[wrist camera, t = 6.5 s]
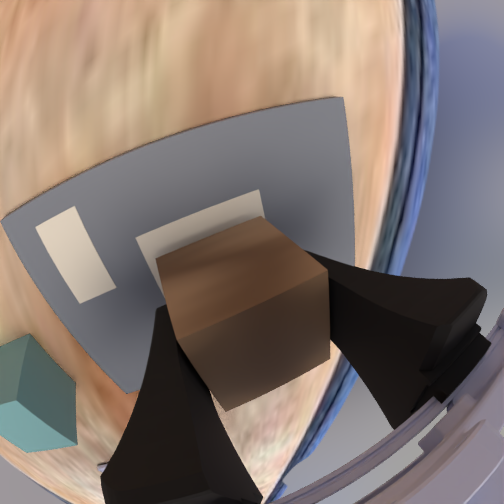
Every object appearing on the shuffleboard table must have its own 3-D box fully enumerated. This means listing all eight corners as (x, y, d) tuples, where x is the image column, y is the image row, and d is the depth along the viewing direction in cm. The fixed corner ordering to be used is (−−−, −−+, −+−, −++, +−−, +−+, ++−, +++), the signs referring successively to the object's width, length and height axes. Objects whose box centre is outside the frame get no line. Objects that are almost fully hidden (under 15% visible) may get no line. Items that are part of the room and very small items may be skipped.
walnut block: (193, 334, 13) (225, 411, 9) (155, 258, 10) (176, 340, 7) (278, 296, 14) (329, 358, 10) (260, 215, 11) (328, 270, 8)
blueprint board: (125, 386, 15) (126, 394, 14) (5, 216, 8) (-1, 221, 8) (348, 284, 18) (354, 289, 18) (335, 96, 12) (343, 97, 11)
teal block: (29, 396, 12) (26, 452, 8) (-15, 352, 10) (-30, 411, 6) (75, 381, 13) (77, 444, 10) (30, 332, 11) (16, 400, 7)
